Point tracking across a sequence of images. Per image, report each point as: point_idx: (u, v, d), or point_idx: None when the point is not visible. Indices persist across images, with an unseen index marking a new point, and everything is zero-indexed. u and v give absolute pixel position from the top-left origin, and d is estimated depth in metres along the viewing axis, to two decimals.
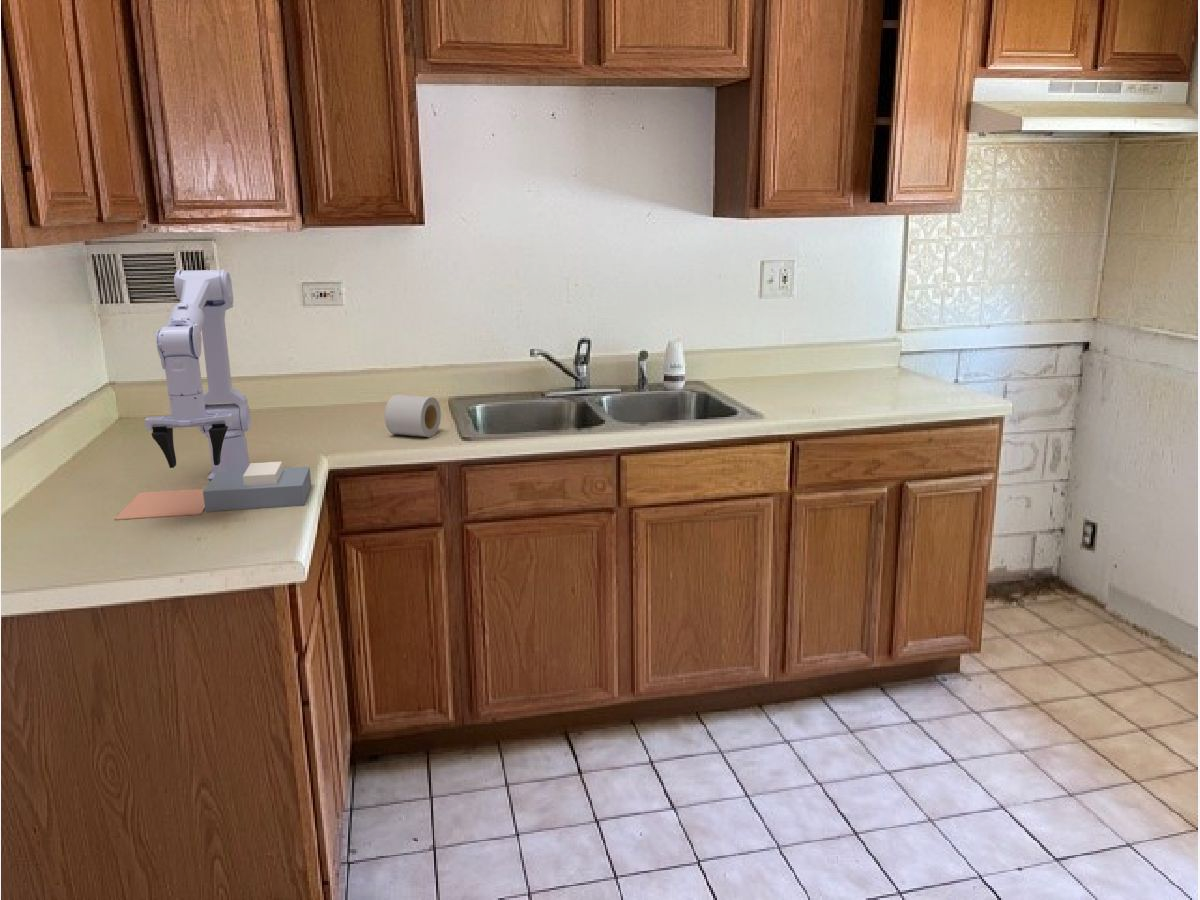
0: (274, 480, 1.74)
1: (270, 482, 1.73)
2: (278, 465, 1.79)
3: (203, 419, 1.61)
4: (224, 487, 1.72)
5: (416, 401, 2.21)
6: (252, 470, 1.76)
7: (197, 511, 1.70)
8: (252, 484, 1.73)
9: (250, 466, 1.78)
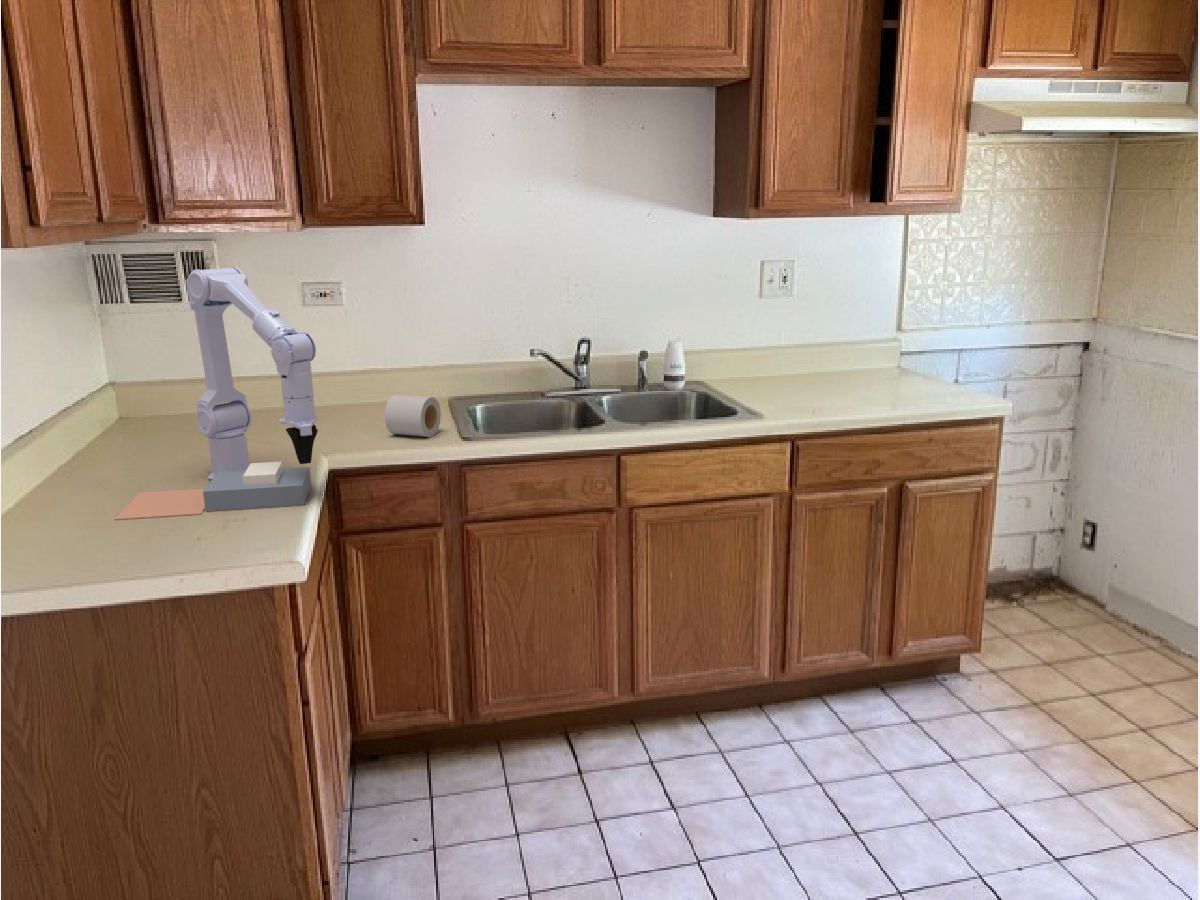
0: (274, 480, 1.74)
1: (270, 482, 1.73)
2: (278, 465, 1.79)
3: (290, 423, 1.72)
4: (224, 487, 1.72)
5: (416, 401, 2.21)
6: (252, 470, 1.76)
7: (197, 511, 1.70)
8: (252, 484, 1.73)
9: (250, 466, 1.78)
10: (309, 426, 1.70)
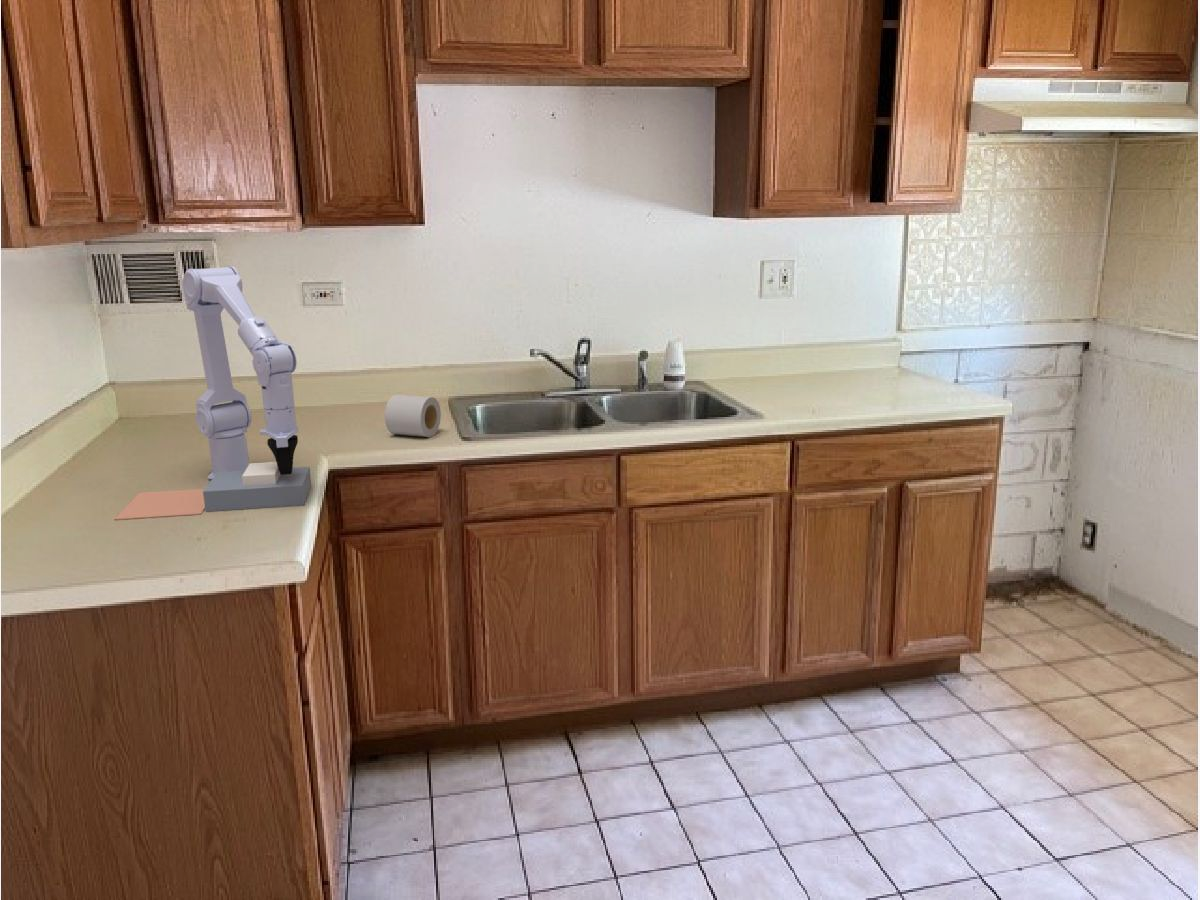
0: (273, 480, 1.74)
1: (269, 482, 1.73)
2: None
3: (269, 434, 1.72)
4: (224, 487, 1.72)
5: (416, 401, 2.21)
6: (251, 470, 1.76)
7: (197, 511, 1.70)
8: (251, 484, 1.73)
9: (249, 466, 1.78)
10: (285, 438, 1.69)
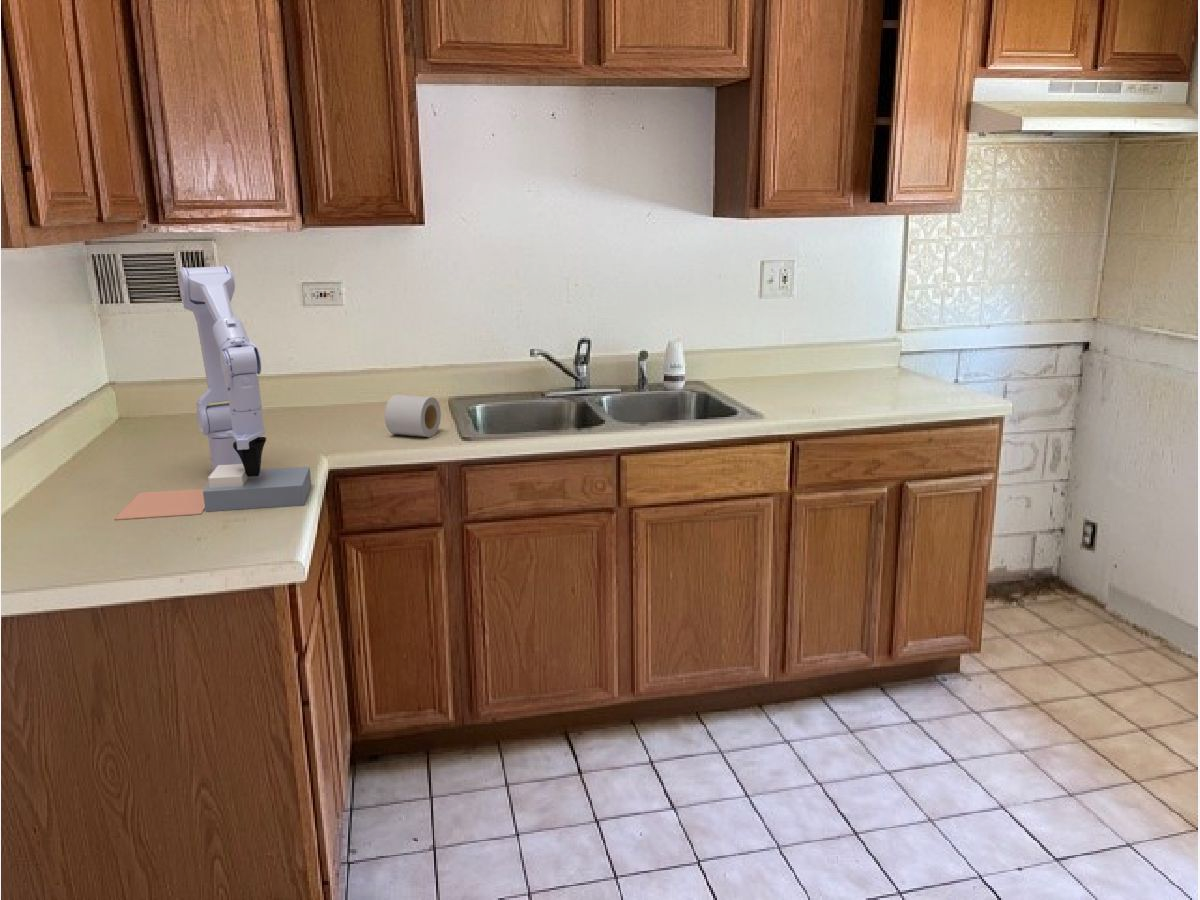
0: (240, 482, 1.72)
1: (236, 484, 1.72)
2: None
3: (234, 435, 1.71)
4: (224, 487, 1.72)
5: (416, 401, 2.21)
6: (218, 472, 1.75)
7: (197, 511, 1.70)
8: (218, 486, 1.72)
9: (217, 468, 1.77)
10: (245, 440, 1.68)
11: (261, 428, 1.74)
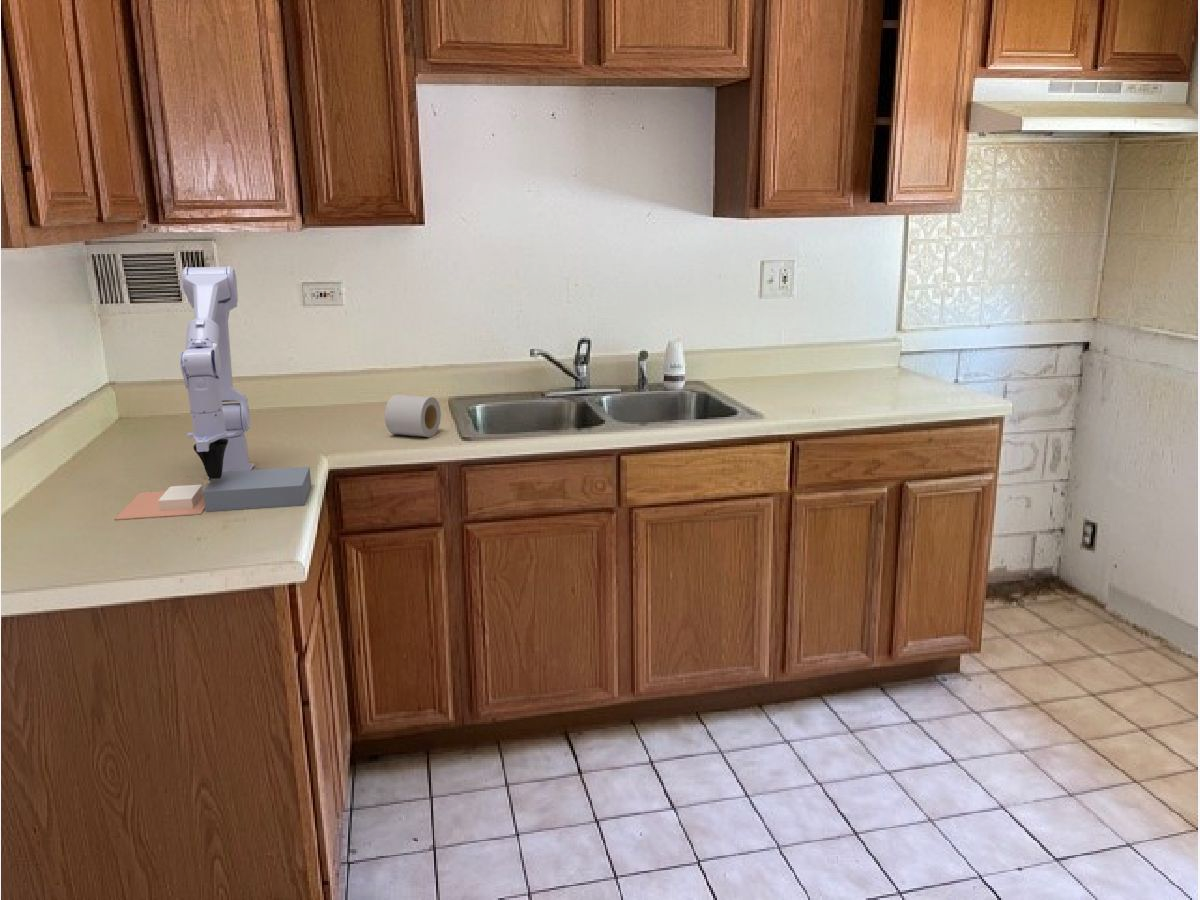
0: (160, 504, 1.70)
1: (164, 502, 1.70)
2: None
3: (194, 437, 1.70)
4: (224, 487, 1.72)
5: (416, 401, 2.21)
6: None
7: (197, 511, 1.70)
8: (182, 500, 1.71)
9: None
10: (205, 442, 1.66)
11: (222, 430, 1.73)
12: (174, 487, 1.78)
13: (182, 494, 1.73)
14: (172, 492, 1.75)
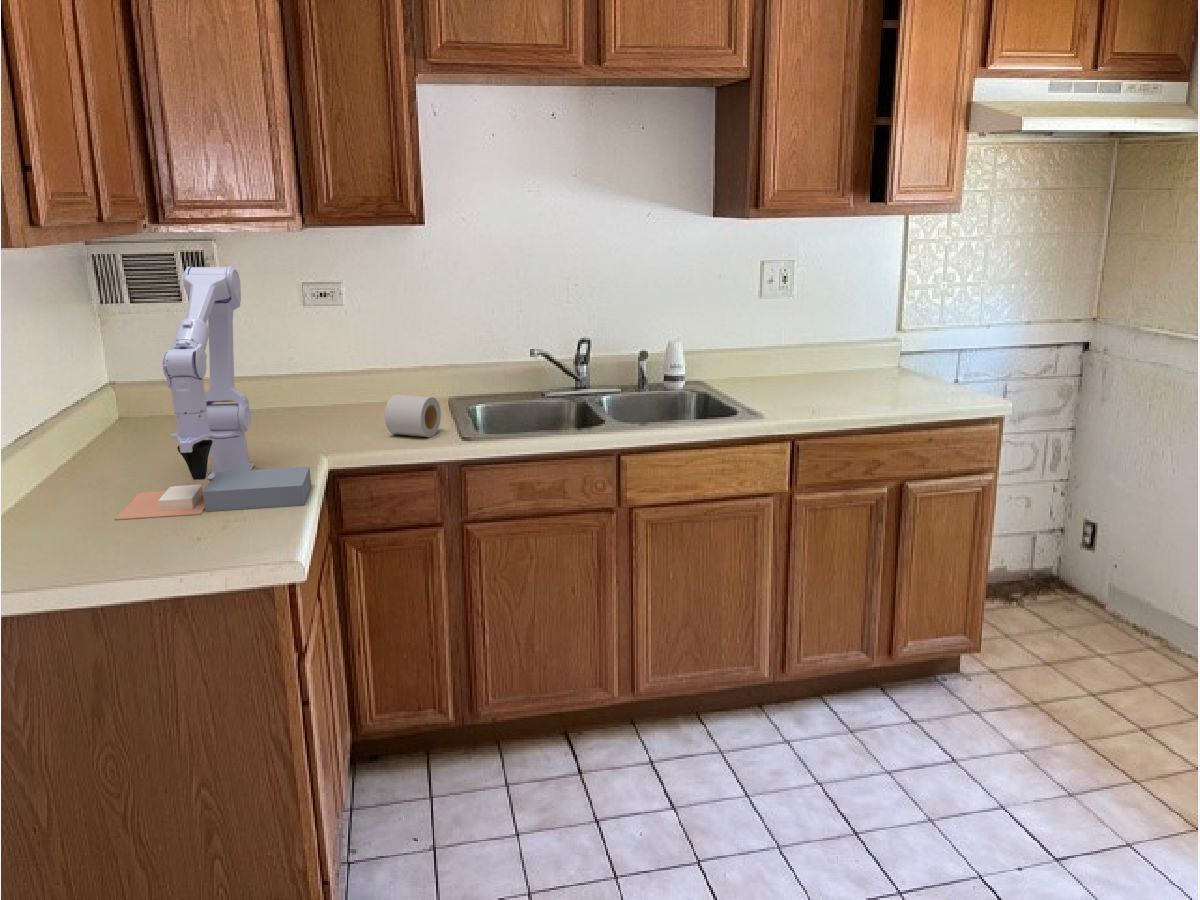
0: (160, 504, 1.70)
1: (164, 502, 1.70)
2: None
3: (178, 438, 1.70)
4: (224, 487, 1.72)
5: (417, 401, 2.21)
6: None
7: (197, 511, 1.70)
8: (182, 500, 1.71)
9: None
10: (188, 443, 1.66)
11: (206, 431, 1.72)
12: (174, 487, 1.78)
13: (182, 494, 1.73)
14: (172, 492, 1.75)
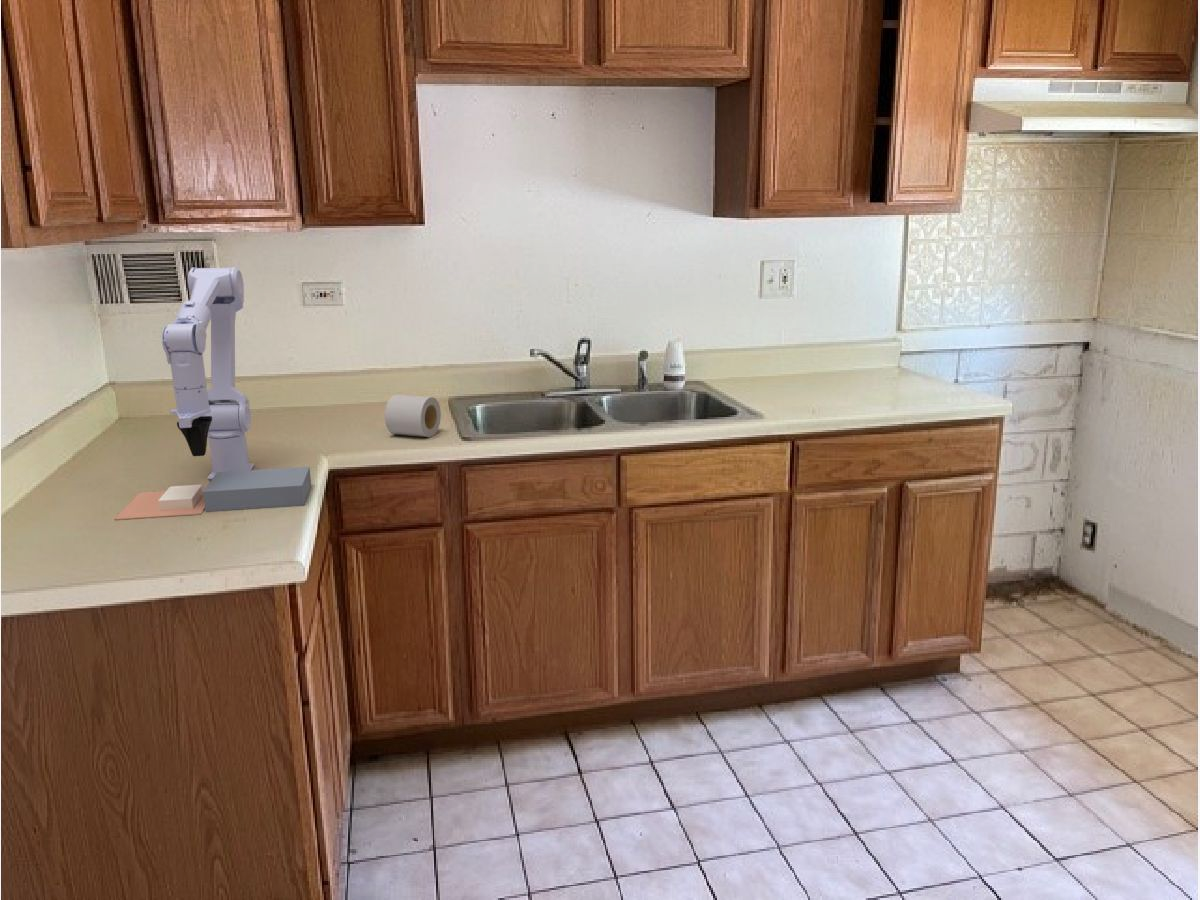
0: (160, 504, 1.70)
1: (164, 502, 1.70)
2: None
3: (177, 414, 1.69)
4: (224, 487, 1.72)
5: (416, 401, 2.21)
6: None
7: (197, 511, 1.70)
8: (182, 500, 1.71)
9: None
10: (187, 418, 1.65)
11: (206, 407, 1.71)
12: (174, 487, 1.78)
13: (182, 494, 1.73)
14: (172, 492, 1.75)
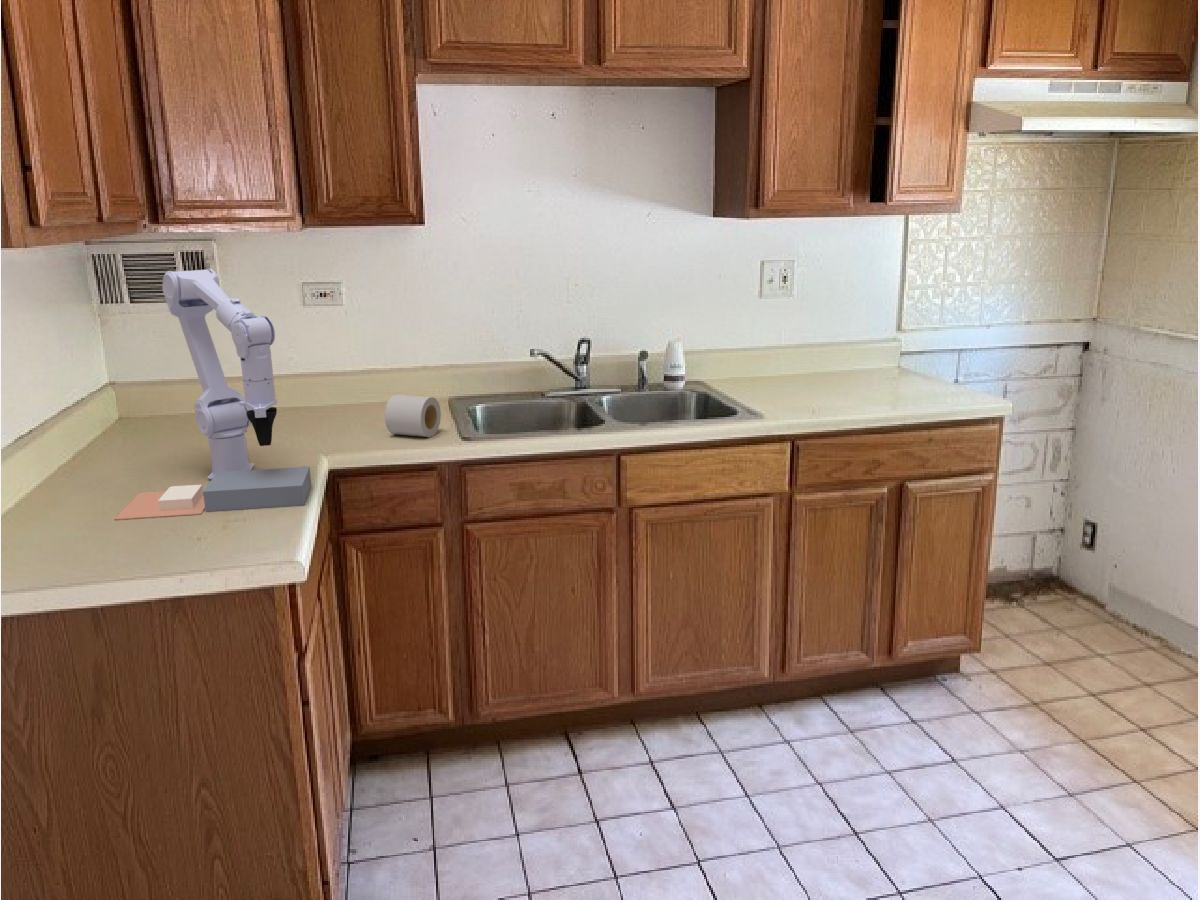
0: (160, 504, 1.70)
1: (164, 502, 1.70)
2: None
3: (248, 405, 1.75)
4: (224, 487, 1.72)
5: (416, 401, 2.21)
6: None
7: (197, 511, 1.70)
8: (182, 500, 1.71)
9: None
10: (263, 408, 1.72)
11: (274, 398, 1.78)
12: (174, 487, 1.78)
13: (182, 494, 1.73)
14: (172, 492, 1.75)
